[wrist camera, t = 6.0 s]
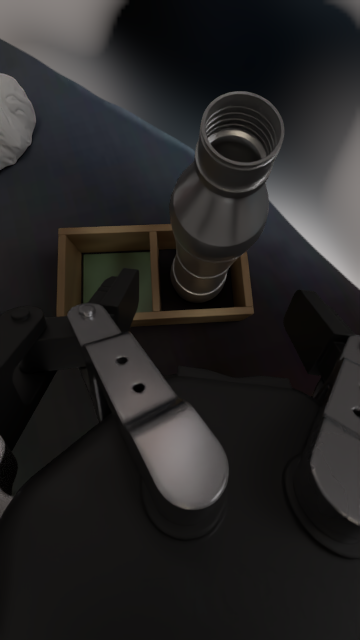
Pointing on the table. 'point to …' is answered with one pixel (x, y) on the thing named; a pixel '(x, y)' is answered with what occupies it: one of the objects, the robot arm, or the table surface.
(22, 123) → the bust
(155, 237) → the brown open rectangular box
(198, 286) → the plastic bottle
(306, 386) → the table surface
